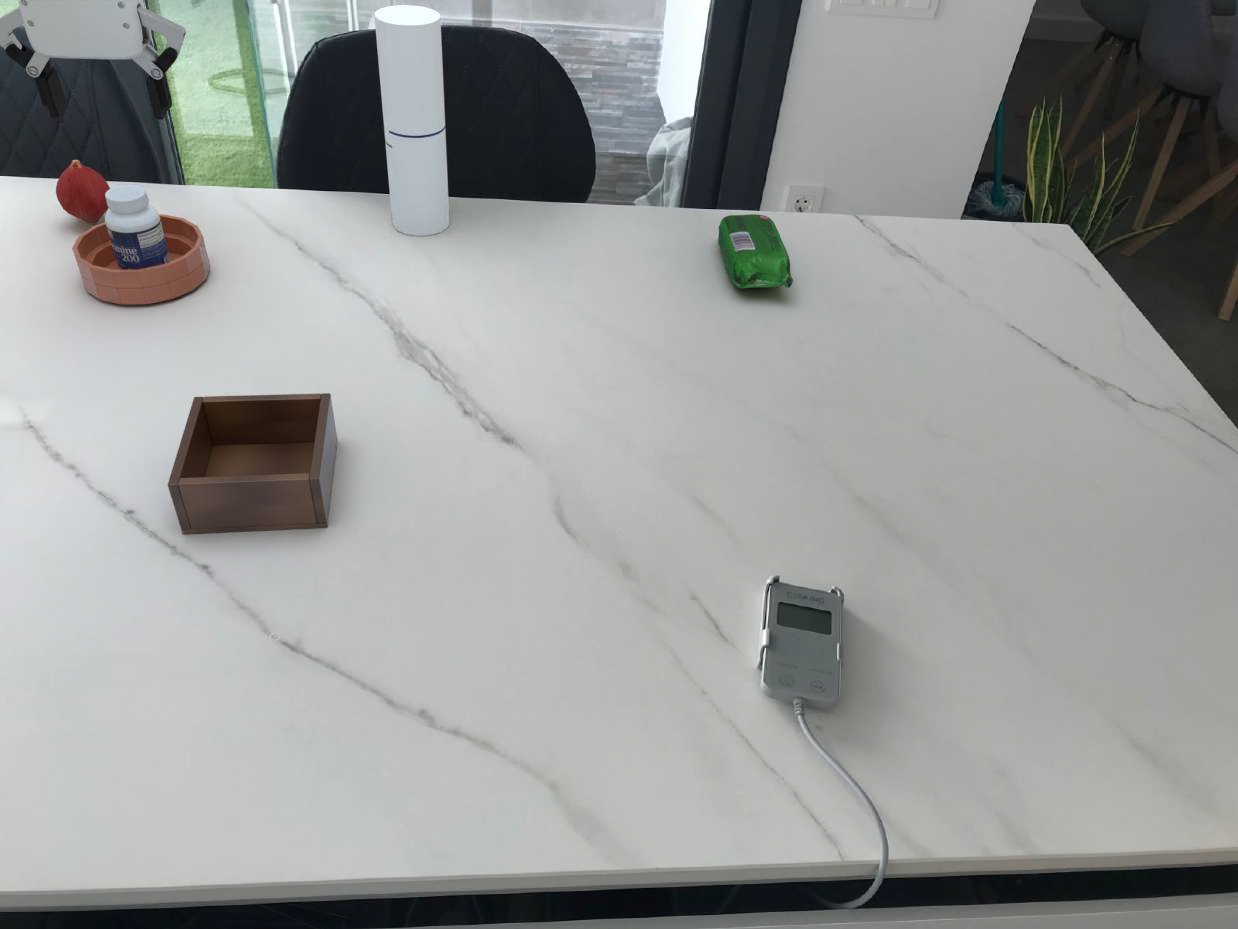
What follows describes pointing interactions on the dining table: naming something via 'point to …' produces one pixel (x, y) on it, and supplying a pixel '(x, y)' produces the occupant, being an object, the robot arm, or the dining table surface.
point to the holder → (255, 463)
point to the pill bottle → (135, 228)
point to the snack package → (754, 252)
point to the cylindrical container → (413, 117)
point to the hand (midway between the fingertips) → (111, 113)
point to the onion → (82, 192)
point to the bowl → (148, 282)
